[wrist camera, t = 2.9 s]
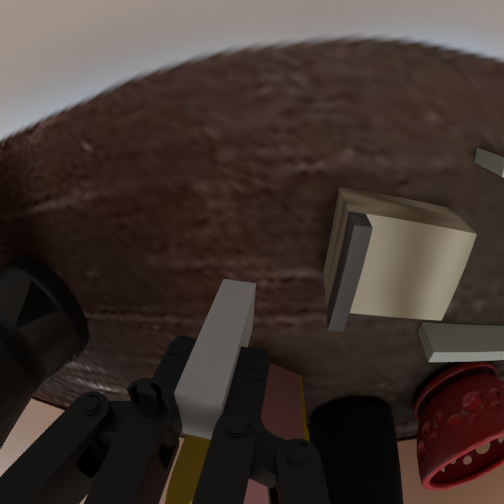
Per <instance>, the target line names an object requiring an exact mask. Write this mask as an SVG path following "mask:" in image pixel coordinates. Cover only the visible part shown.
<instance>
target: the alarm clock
mask: <svg viewBox="0 0 504 504" xmlns="http://www.w3.org/2000/svg"><path fill="white" fill-rule="evenodd" d="M261 420H262V423H263V425H264V426H265V428H266V429H267V430H268V431H269V432H270V433H272V434H274V435H276V436H278V437H280V438H282V439H285V440H291V439H294V438H296V439H305V440H307V441H310V440H309V430H308V428H307V427H306V415H305V403H304V391H303V380H302V375H299V374H297V373H295V372H292V371H290V370H287V369H285V368H282V367H280V366H277V365H275V364H273V363H270V367H269V373H268V379H267V385H266V391H265V397H264V402H263V408H262V414H261ZM210 441H211V440H210V439H205V438H201V437H197V436H193V435H189V434H186V436H185V439H184V442H183V445H182V447H181V450H180V453H179V455H178V458H177V461H176V464H175V466H174V469H173V472H172V476H171V479H170V482H169V486H168V490H167V495H166V501H165V504H191V503H192V500H193V497H194V494H195V490H196V487H197V484H198V481H199V477H200V474H201V471H202V467H203V464H204V461H205V458H206V454H207V451H208V448H209V444H210ZM244 504H269V497H268V488H267V486H264V485H262V484H260V483H258V482H256V481H254V480H251V479H249V481H248V486H247V490H246V495H245V500H244Z"/></svg>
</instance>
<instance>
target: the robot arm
mask: <svg viewBox="0 0 504 504" xmlns="http://www.w3.org/2000/svg"><path fill="white" fill-rule="evenodd" d="M255 290H256V283H249V282H242V281H235V280H228V279H223V281H222V284H221V286H220V288H219V290H218V293H217V295H216V297H215V299H214V302H213V304H212V306H211V309H210V311H209V313H208V315H207V318H206V320H205V322H204V325H203V327H202V329H201V332H200V334H199V336H198V338H197V339H194V338H189V337H184V336H178V337H177V338H176V339H175V340H174V341H172V342H171V343H170V345H169V347H168V349H167V351H166V352H165V355H164V356H163V358H162V360H161V362H160V364H159V366H158V368H157V370H156V372H155V374H154V376H153V378H152V379H150V378H143V379H138V380H136V381H134V382H132V383H131V384H130V385H129V386H128V388H127V390H128V393H129V395H130V398H131V401H108V399H107V398H106V397H105V396H104V395H103V394H101V393H99V392H87V393H84V394H83V395H81V396H80V397H78V398H77V399H76V400H75V401H74V402H73V403H72V404H71V405H70V406H69V407H68V408H67V409H66V410H65V411H64V412H63V413H62V414H61V415H60V416H59V417H58V418H57V419H56V420H55V421H54V422H53V423H52V424H51V426H49V427H48V429H46V430H45V432H44V433H43V434H42V435H41V436H40V437H39V438H38V439H37V440H36V441H35V442H34V443H33V444H32V445H31V446H30V447H29V448H28V449H27V450H26V451H25V452H24V453H23V454H22V455H21V456H20V457H19V458H18V459H17V460H16V461H15V462H14V463H13V464H12V465H11V466H10V467H9V468H8V469H7V470H6V471H5V473H4V474H3V475H2V476H1V477H0V504H79V503H80V502H81V501H82V500H83V499H84V498H85V496H86V495H87V494H88V495H87V498H86V500H85V502H84V504H159V501H160V498H161V496H162V493H163V490H164V487H165V484H166V482H167V479H168V475H169V473H170V470H171V467H172V465H173V462H174V459H175V456H176V453H177V450H178V448H179V438H178V437H179V434H180V432H181V429H183V433H185V434H189V435H193V436H197V437H201V438H205V439H210V440H211V441H210V444H209V448H208V451H207V454H206V458H205V461H204V464H203V467H202V471H201V474H200V477H199V481H198V484H197V487H196V490H195V494H194V497H193V500H192V503H191V504H244V500H245V495H246V490H247V486H248V481H249V479H251V480H254V481H256V482H258V483H260V484H262V485H264V486H267V488H268V497H269V504H331V503H330V498H329V494H328V489H327V485H326V480H325V476H324V471H323V467H322V463H321V458H320V454H319V452H318V449H317V447H316V446H315V445H313V444H312V443H311V442H310V441H307V440H305V439H296V438H294V439H291V440H285V439H282V438H280V437H278V436H276V435H274V434H272V433H270V432H269V431H268V430H267V429H266V428H265V426H264V425H263V423H262V420H261V414H262V408H263V402H264V397H265V391H266V385H267V379H268V373H269V367H270V358H269V355H268V353H267V350H261V349H255V348H248V344H249V340H250V336H251V332H252V327H253V315H254V302H255ZM87 342H88V330H87V325H86V322H85V319H84V317H83V314H82V312H81V310H80V308H79V306H78V305H77V303H76V301H75V300H74V298H73V297H72V295H71V294H70V292H69V291H68V290H67V289H66V287H65V286H64V285H63V284H62V283H61V281H60V280H59V279H58V278H57V277H56V276H55V275H54V274H53V273H52V272H51V271H49V270H48V269H47V268H46V267H44V266H43V265H42V264H40V263H39V262H37V261H35V260H33V259H31V258H28V257H24V256H16V257H13V258H11V259H10V260H9V261H8V262H6V263H5V264H4V265H3V266H1V267H0V449H1V448H2V445H3V443H4V442H5V440H6V438H7V437H8V435H9V433H10V431H11V430H12V428H13V427H14V425H15V423H16V422H17V420H18V418H19V417H20V415H21V414H22V412H23V410H24V409H25V407H26V406H27V404H28V403H29V401H30V399H31V398H32V396H33V395H34V393H35V392H36V390H37V389H38V388H39V386H40V385H41V383H42V382H43V381H44V380H45V379H46V378H48V377H49V376H51V375H52V374H54V373H55V372H57V371H58V370H59V369H60V368H62V367H63V366H64V365H65V364H69V363H71V362H73V361H74V360H75V359H76V358H77V357H78V356H79V355H80V353H81V352H82V351H83V349H84V348H85V346H86V345H87Z"/></svg>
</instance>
